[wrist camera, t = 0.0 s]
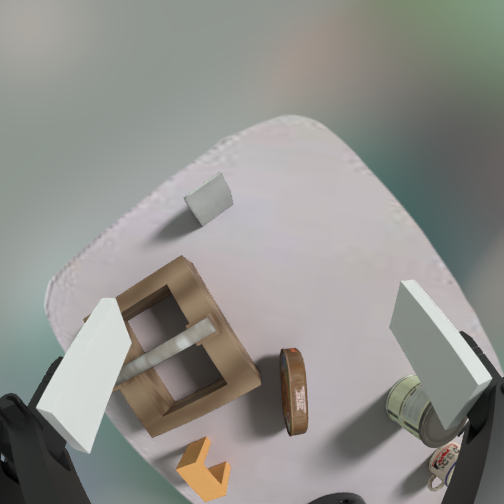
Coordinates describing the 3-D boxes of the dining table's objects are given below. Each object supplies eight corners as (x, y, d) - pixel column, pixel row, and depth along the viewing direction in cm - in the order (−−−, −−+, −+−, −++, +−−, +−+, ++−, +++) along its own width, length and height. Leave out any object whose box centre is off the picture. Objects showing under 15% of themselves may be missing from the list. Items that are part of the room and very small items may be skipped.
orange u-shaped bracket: (230, 466, 42) (225, 495, 32) (213, 473, 41) (205, 502, 32) (206, 436, 43) (196, 462, 33) (188, 444, 43) (175, 469, 33)
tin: (278, 345, 46) (283, 353, 38) (296, 343, 46) (305, 350, 38) (283, 425, 44) (288, 445, 35) (301, 422, 44) (309, 442, 35)
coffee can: (434, 376, 44) (477, 389, 30) (417, 423, 42) (455, 446, 28) (395, 370, 45) (436, 386, 31) (377, 420, 43) (411, 448, 29)
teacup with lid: (449, 433, 41) (479, 450, 30) (462, 449, 40) (489, 465, 28) (411, 473, 40) (436, 496, 28) (427, 486, 38) (450, 507, 27)
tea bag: (233, 204, 51) (228, 180, 42) (203, 226, 51) (191, 207, 41) (221, 189, 52) (214, 164, 42) (191, 211, 51) (177, 190, 41)
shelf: (260, 372, 46) (261, 396, 32) (166, 421, 44) (138, 453, 30) (192, 263, 49) (169, 246, 36) (105, 318, 47) (61, 319, 34)
